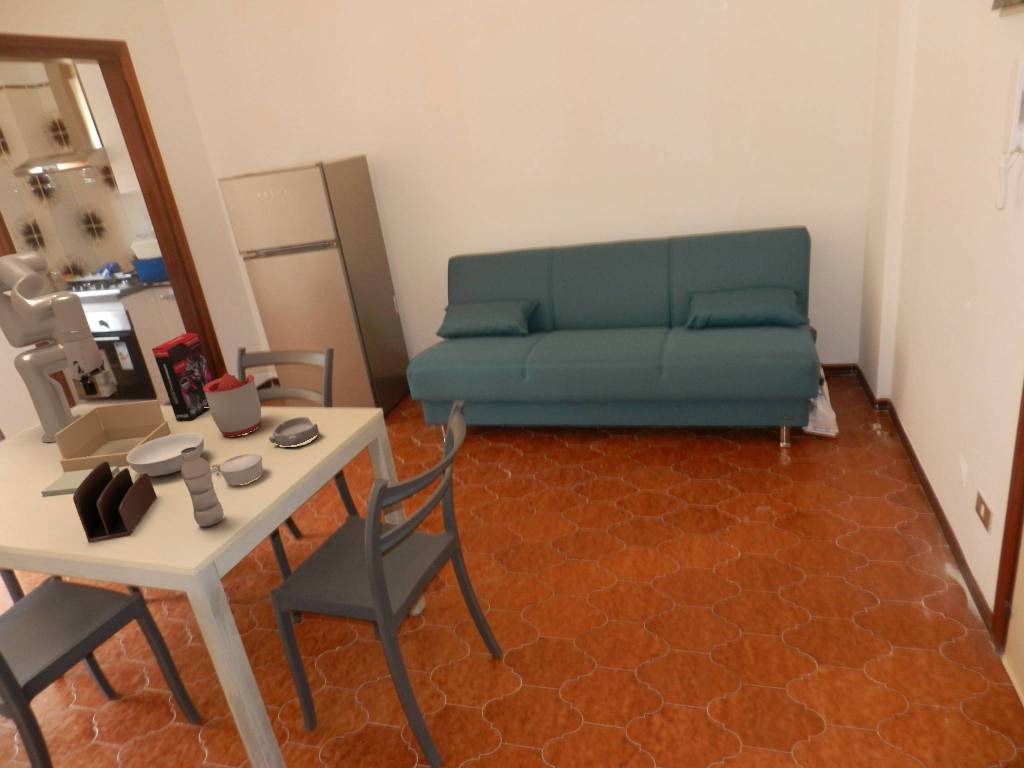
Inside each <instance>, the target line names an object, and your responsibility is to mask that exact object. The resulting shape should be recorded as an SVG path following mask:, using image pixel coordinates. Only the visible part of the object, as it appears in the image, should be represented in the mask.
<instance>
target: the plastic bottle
mask: <svg viewBox="0 0 1024 768" xmlns="http://www.w3.org/2000/svg"><path fill="white" fill-rule="evenodd" d="M181 455H182V459H183V460H184V463H183V465H182V468H181V470H180V475H181V478H182V481H183V482H184V483H185V485H186V487H187V490H188V493H189V495H190V498H191V503H192V507H193V518H194V520H195V522H196V524H197V525H199V526H200V527H202V528H206V527H212V526H214V525H217V524H218V523H220V522H221V521H223V519H224V516H225V515H224V508H223V506H222V504H221V502H220V501H219V498H218V496H217V494H216V491H215V487H214V481H213V477H212V469H211V465H210V463H209V462H208V461H207V460H206V459H204V458H202V457H201V455H200V453H199V451H198V448H197V447H189V448H186V449H184V450H182V451H181ZM199 456H200V457H199Z"/></svg>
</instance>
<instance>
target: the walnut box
mask: <svg viewBox="0 0 1024 768" xmlns="http://www.w3.org/2000/svg"><path fill="white" fill-rule="evenodd" d="M83 376H84V377H86V375H83ZM90 376H91V382H93V383H94V385H95V388H96V391H97V394H96V395H88V396H87V395H86V393H85V390H84V388H83V385H82V384H81V383H80V381H78V380H77V379H75V378H73V377H72V378H71V380H72V382H73V385H74V388H75V390H76V393H77V396H78V398H79V401H80V400H89V399H90V400H91V399H97V398H106V397H110V396H111V395H112V394H114V393H115V392H117V391H118V390H117V389H118V388H117V386H116V384H115V381H114V378H113V376H112V372H111V370H110V369H105V370H104V369H103V371H94V372H90ZM86 378H87V377H86Z"/></svg>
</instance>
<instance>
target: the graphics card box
mask: <svg viewBox="0 0 1024 768" xmlns="http://www.w3.org/2000/svg"><path fill="white" fill-rule="evenodd" d="M151 351H152V354H153V357H154V358H155V362H156V366H157V368H158V371H159V373H160V377H161V379H162V383H163V386H164V388H165V392H166V394H167V397H168V401H169V402H170V405H171V409H172V411H173V414H174V417H175V420H176V422H180V421H181V422H182V421H183V422H184V421H186V422H187V421H192V420H194V419H195V418H197V417H199V416H200V415H201V414H203V413H204V412H206V411H207V410H210V408H204V407H209V405H208V401H207V398H206V394H205V391H204V390H203V387H204V386H205V385H206V384H208V383H209V382H211V381H213V378H212V375H211V372H210V368H209V366H208V362H207V359H206V357H205V353H204V350H203V347H202V343H201V341H200V337H199V334H198V333H193V332H191V333H181V334H180V335H177V336H176V337H175V338H172V339H170V340H167V341H166V342H164V343H161V344H159V345H156V346H154V347H152V348H151Z"/></svg>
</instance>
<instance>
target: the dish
mask: <svg viewBox="0 0 1024 768" xmlns="http://www.w3.org/2000/svg"><path fill="white" fill-rule="evenodd" d="M317 433H318V434H319V427H318V424H317V423H313V422H312V421H311V419H310V418H309V417H308V416H299V417H298V416H297V417H293V418H290V419H287V420H284V421H282V422H281V423H278V424H277V425H276V426H275V428H273V430H272V435H270V436H269V438H268V439H269V442H270V443H272V444H278V445H282V446H291V445H297V444H300V443H303V442H305V441H307V440H309V439H311V438H313V437H314V436H316V435H317Z"/></svg>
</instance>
